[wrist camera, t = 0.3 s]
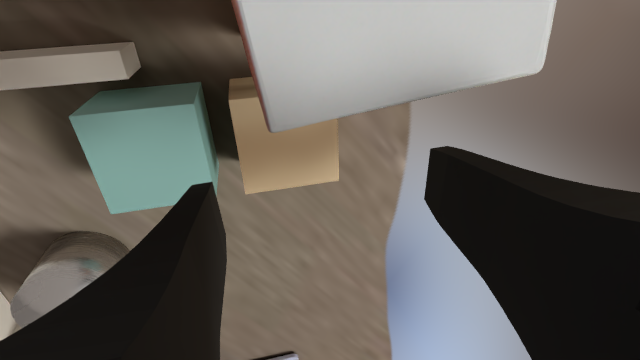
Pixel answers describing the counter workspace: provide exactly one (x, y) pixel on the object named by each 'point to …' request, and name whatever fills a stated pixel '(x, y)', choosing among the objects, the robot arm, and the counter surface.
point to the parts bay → (61, 70)
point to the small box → (383, 51)
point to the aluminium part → (64, 273)
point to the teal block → (147, 144)
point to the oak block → (279, 146)
